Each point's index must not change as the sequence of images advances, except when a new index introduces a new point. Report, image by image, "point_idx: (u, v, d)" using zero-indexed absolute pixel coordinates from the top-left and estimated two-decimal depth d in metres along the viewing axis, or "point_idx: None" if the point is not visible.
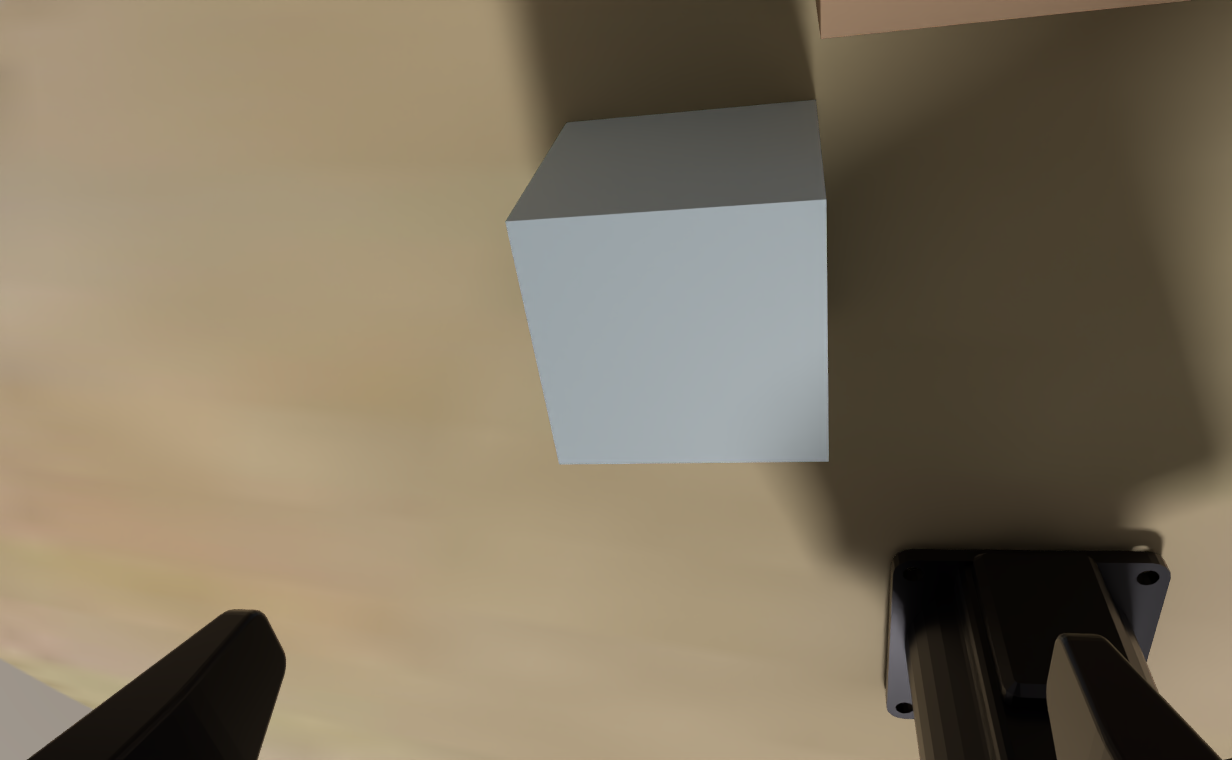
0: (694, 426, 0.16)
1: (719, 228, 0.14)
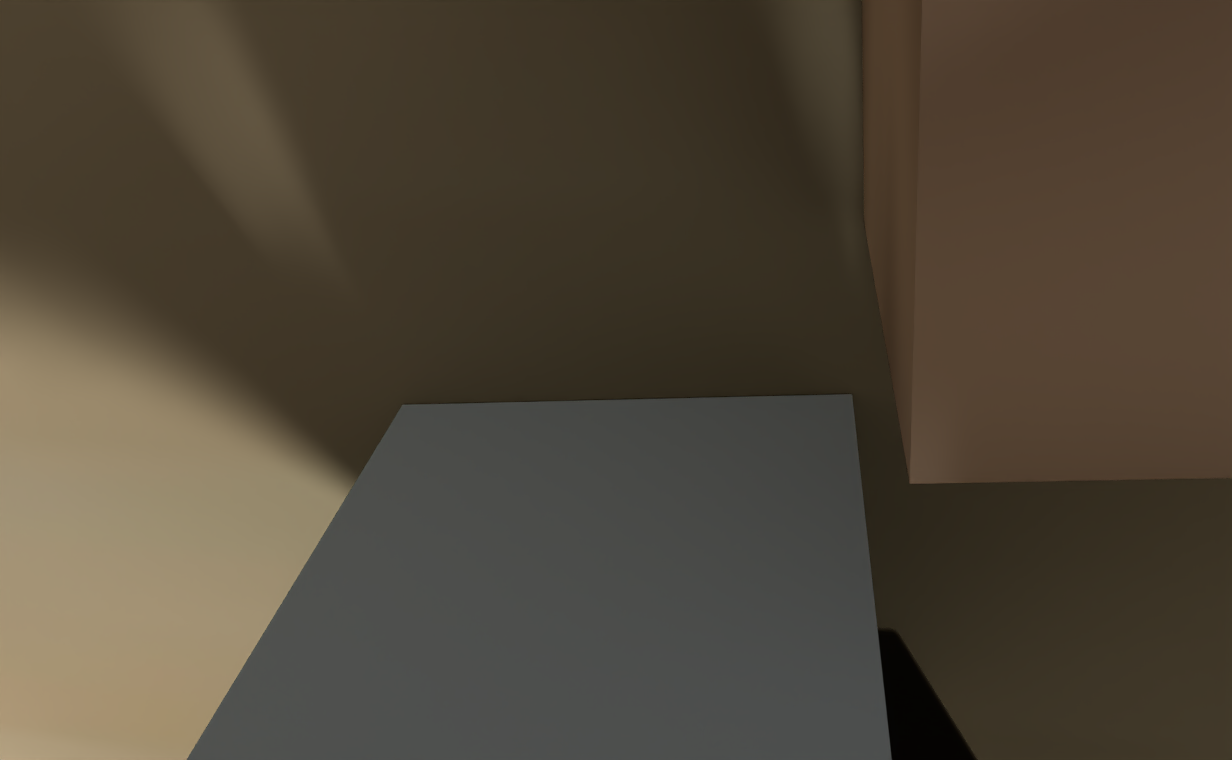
0: None
1: None
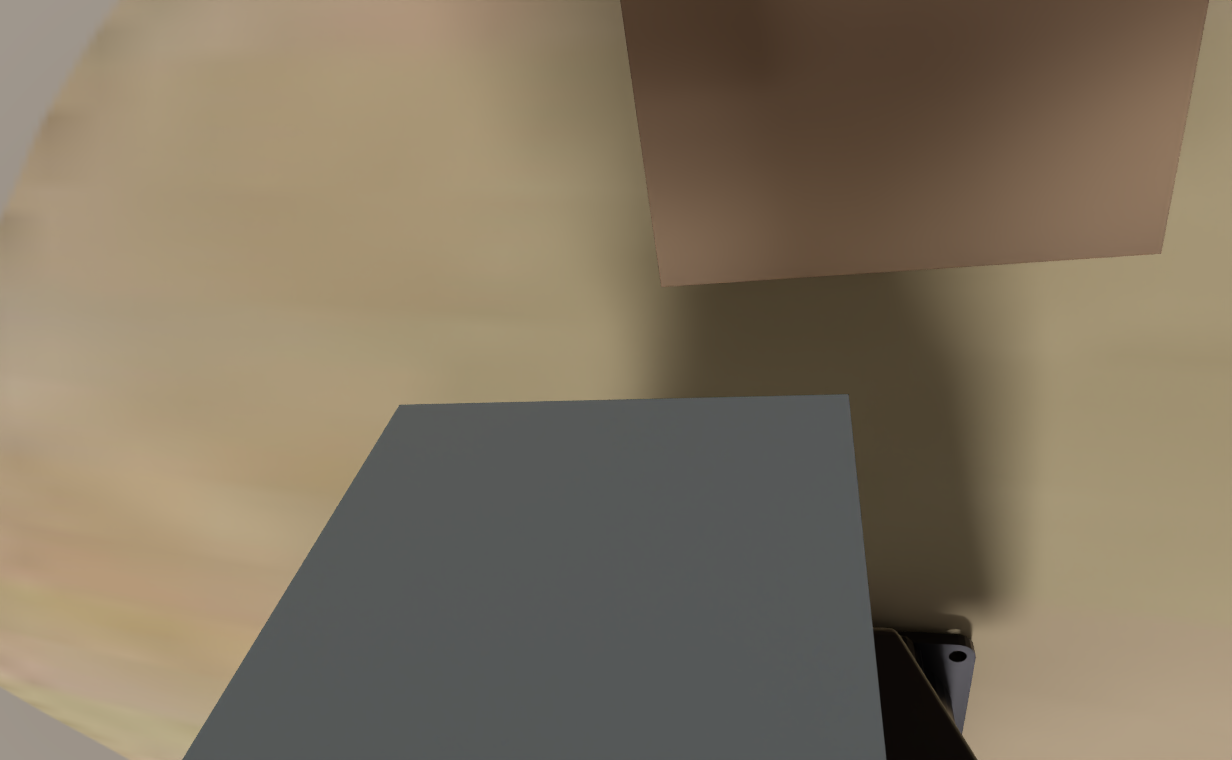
0: None
1: None
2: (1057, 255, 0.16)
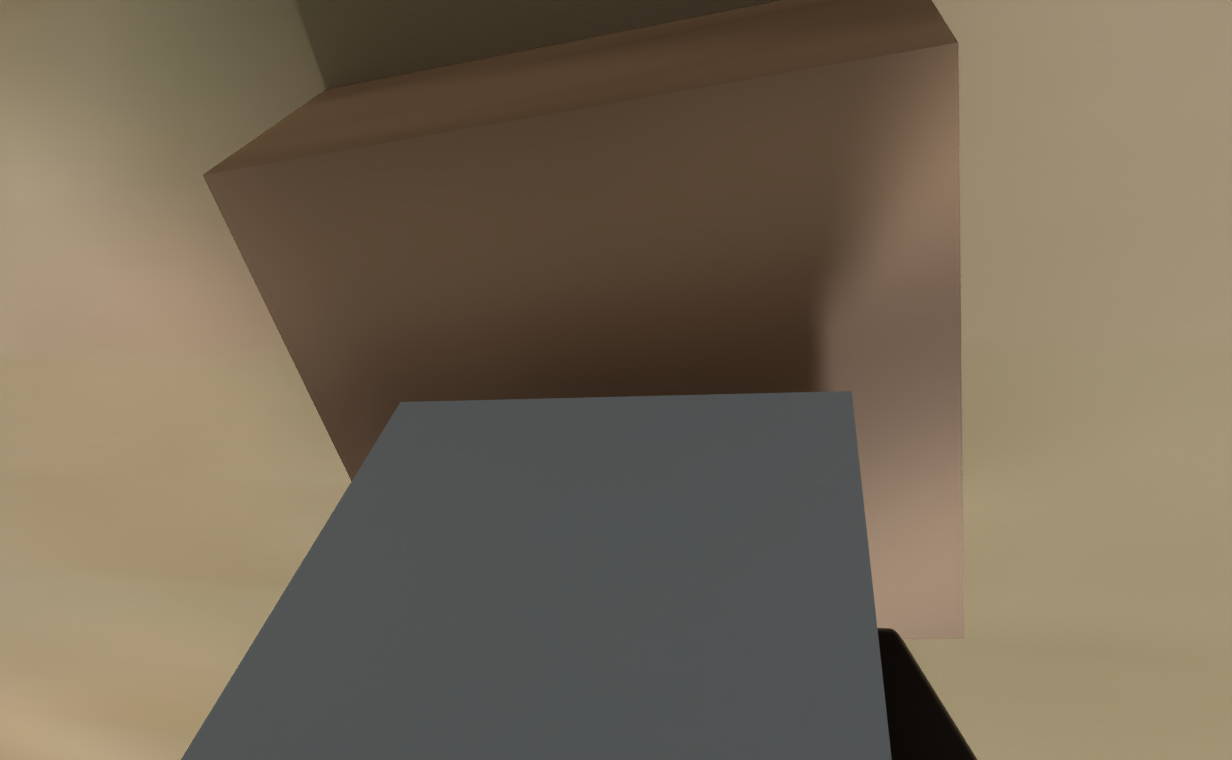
0: None
1: None
2: None
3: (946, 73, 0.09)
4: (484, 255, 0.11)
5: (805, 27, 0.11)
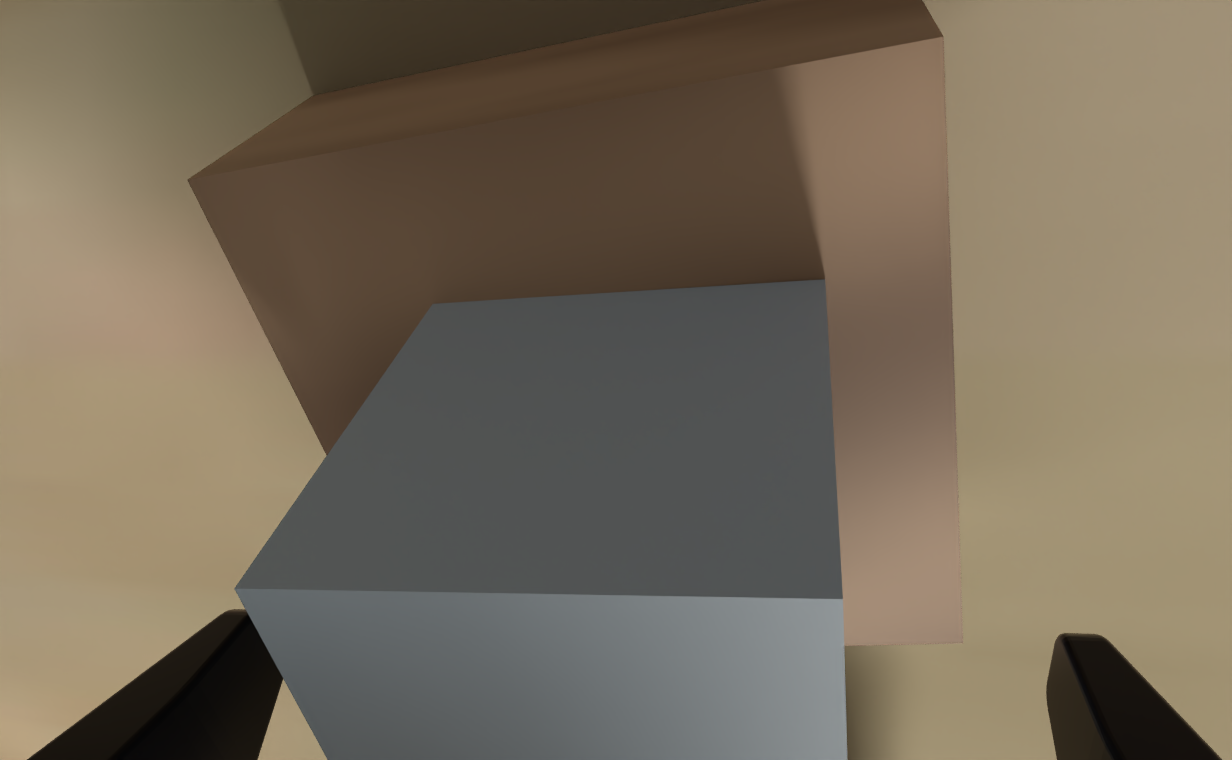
0: None
1: (632, 627, 0.07)
2: (846, 642, 0.14)
3: (932, 68, 0.09)
4: (470, 257, 0.11)
5: (792, 24, 0.11)
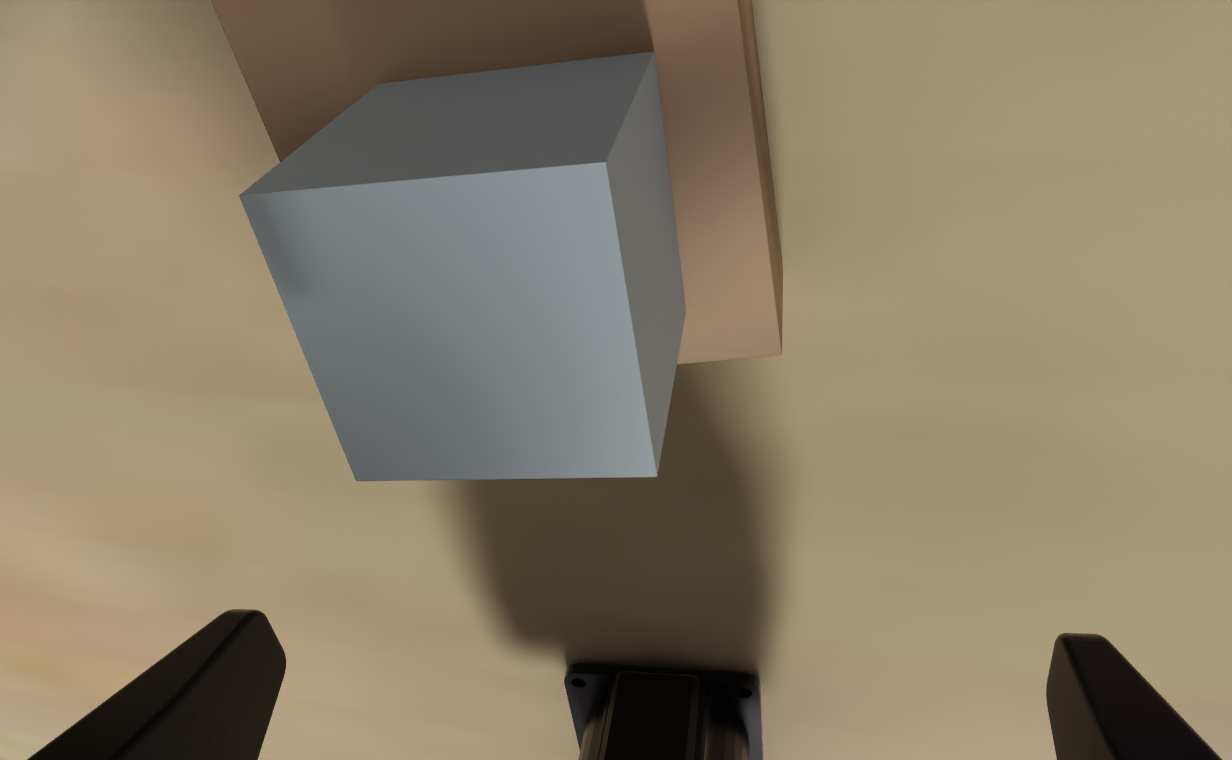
0: (498, 437, 0.13)
1: (487, 200, 0.11)
2: (696, 358, 0.18)
3: None
4: (401, 23, 0.15)
5: None
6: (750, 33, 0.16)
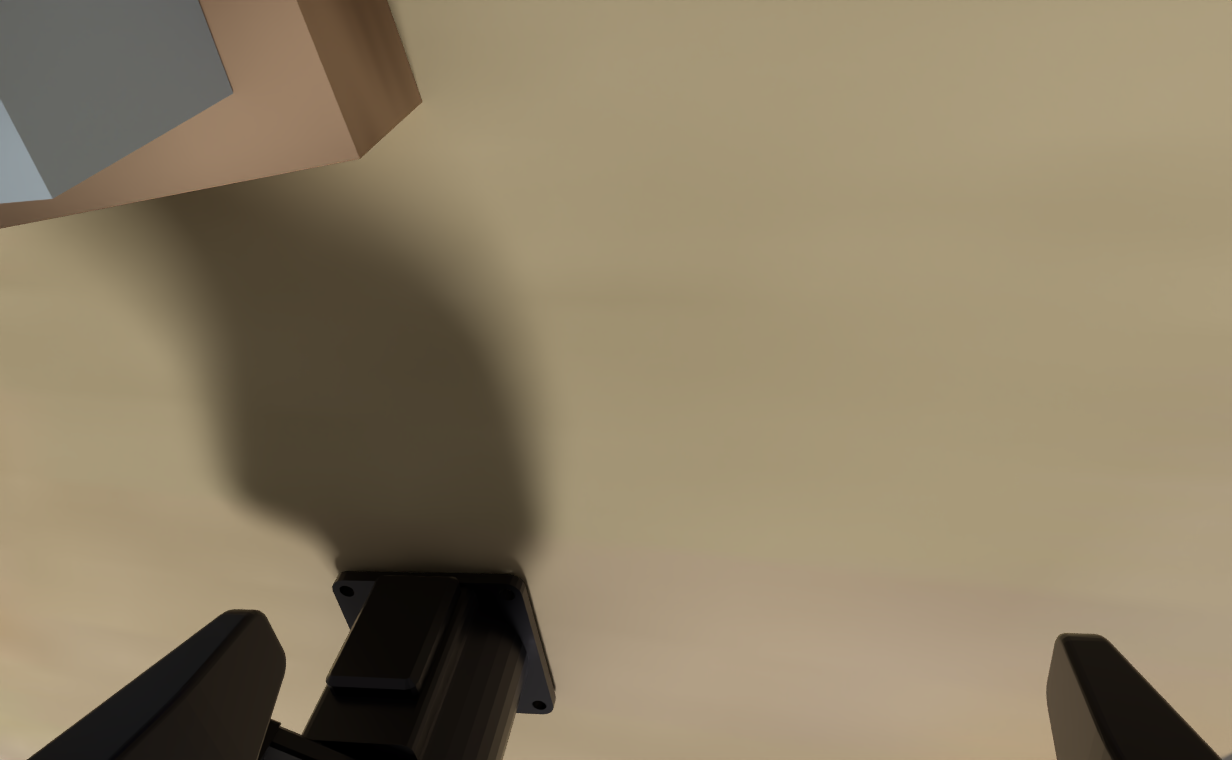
0: None
1: None
2: (279, 168, 0.17)
3: None
4: None
5: None
6: None
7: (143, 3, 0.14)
